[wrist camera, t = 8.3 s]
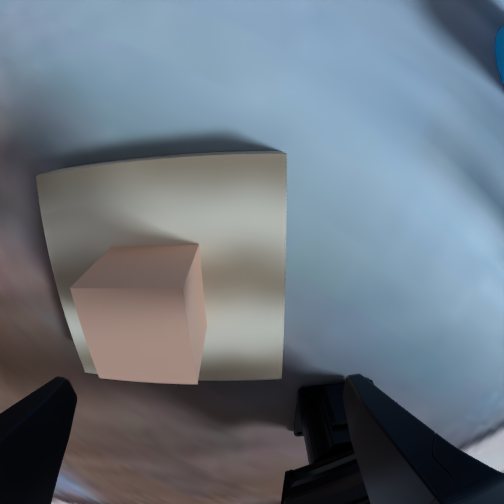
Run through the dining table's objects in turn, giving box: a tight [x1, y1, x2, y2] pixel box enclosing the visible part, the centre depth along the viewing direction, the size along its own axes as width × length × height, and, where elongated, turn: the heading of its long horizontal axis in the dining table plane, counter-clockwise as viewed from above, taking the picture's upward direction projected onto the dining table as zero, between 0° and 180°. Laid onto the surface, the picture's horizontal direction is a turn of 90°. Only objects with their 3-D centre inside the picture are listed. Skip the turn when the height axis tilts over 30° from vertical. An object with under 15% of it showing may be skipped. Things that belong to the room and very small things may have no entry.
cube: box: [70, 244, 207, 384], centre depth 15 cm, size 5×5×5 cm
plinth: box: [36, 151, 287, 381], centre depth 19 cm, size 14×14×3 cm
